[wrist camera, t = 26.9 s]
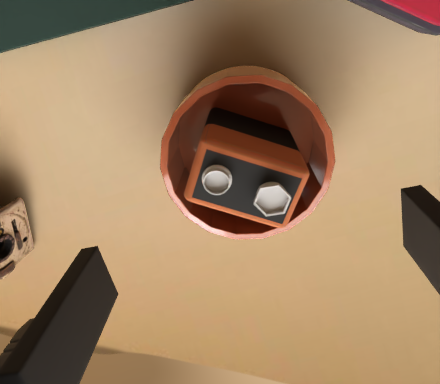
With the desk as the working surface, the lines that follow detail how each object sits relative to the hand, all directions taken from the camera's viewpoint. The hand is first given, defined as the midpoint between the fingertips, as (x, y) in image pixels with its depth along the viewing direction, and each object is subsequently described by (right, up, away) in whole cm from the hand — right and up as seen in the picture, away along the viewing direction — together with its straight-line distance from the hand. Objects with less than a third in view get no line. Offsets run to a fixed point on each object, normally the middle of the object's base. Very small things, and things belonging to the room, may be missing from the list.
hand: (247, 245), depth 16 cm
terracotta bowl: (+1, +7, +15) cm, 16 cm away
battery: (+1, +6, +15) cm, 16 cm away
